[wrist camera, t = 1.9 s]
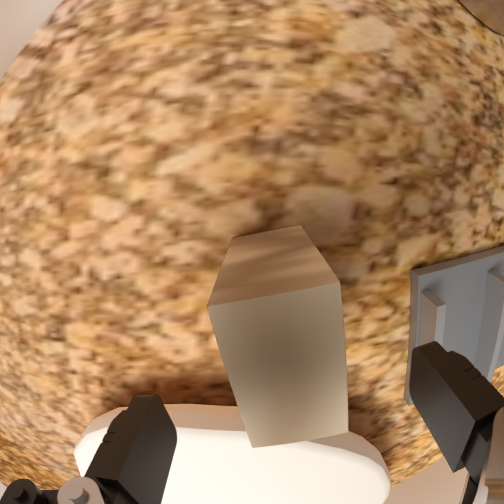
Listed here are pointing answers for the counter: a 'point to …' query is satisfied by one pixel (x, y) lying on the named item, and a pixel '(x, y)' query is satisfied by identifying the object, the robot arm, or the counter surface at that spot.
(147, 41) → the counter surface
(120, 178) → the counter surface
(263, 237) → the block
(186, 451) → the plate
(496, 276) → the rack
